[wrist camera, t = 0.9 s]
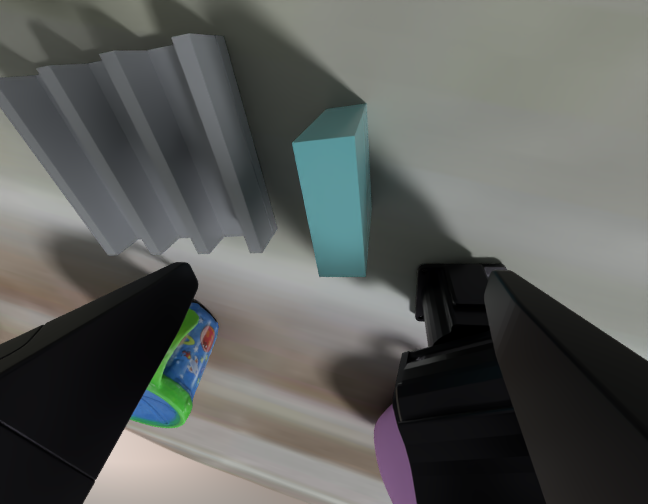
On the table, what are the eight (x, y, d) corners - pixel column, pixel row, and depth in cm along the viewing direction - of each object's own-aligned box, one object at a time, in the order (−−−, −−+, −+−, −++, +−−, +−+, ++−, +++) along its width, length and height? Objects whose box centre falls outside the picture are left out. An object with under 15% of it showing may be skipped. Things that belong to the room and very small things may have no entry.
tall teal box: (371, 207, 21) (365, 276, 14) (339, 208, 21) (319, 276, 15) (366, 103, 17) (354, 135, 10) (326, 108, 17) (291, 142, 11)
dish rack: (277, 228, 23) (262, 252, 21) (136, 234, 27) (107, 255, 24) (223, 36, 16) (189, 32, 13) (38, 76, 19) (-20, 81, 17)
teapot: (508, 467, 42) (552, 616, 31) (364, 435, 44) (357, 563, 33) (604, 396, 28) (741, 613, 17) (391, 356, 31) (394, 525, 20)
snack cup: (205, 361, 39) (158, 442, 31) (134, 322, 36) (63, 400, 28) (258, 312, 30) (213, 407, 22) (172, 257, 28) (84, 342, 20)
